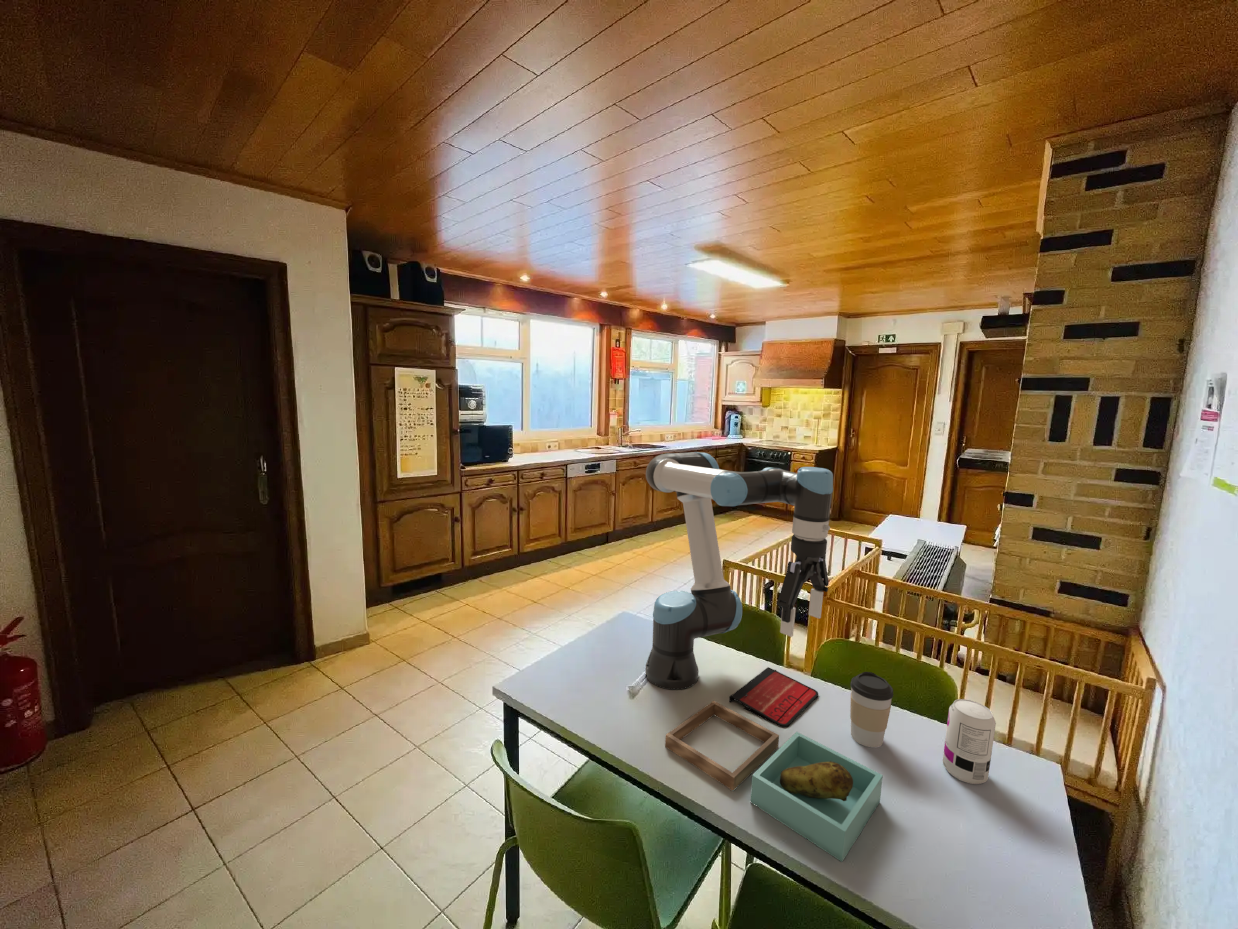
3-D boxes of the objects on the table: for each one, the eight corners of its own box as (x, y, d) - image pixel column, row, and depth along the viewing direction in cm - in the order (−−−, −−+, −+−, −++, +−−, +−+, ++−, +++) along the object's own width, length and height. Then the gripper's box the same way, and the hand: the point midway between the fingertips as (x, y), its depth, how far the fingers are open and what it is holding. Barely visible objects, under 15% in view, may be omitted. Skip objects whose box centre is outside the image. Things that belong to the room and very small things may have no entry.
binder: (729, 695, 134) (767, 665, 149) (728, 703, 135) (766, 673, 150) (786, 725, 124) (821, 690, 139) (785, 734, 124) (820, 698, 139)
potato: (790, 770, 109) (793, 735, 108) (854, 801, 101) (858, 764, 100) (775, 793, 103) (777, 757, 102) (842, 828, 95) (845, 789, 94)
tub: (750, 802, 102) (752, 775, 101) (794, 756, 115) (796, 731, 114) (842, 862, 89) (845, 831, 88) (879, 802, 102) (882, 775, 101)
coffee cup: (893, 754, 116) (900, 693, 114) (850, 747, 118) (856, 687, 116) (881, 728, 125) (887, 671, 123) (842, 723, 127) (847, 666, 125)
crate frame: (665, 746, 117) (665, 734, 116) (713, 711, 130) (713, 700, 130) (733, 791, 104) (733, 777, 104) (778, 747, 118) (779, 735, 117)
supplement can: (933, 764, 113) (941, 702, 111) (958, 755, 117) (966, 694, 114) (971, 791, 106) (980, 724, 104) (996, 780, 109) (1005, 715, 107)
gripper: (798, 552, 104) (789, 649, 107) (849, 530, 121) (840, 614, 124) (765, 543, 109) (758, 636, 112) (818, 523, 126) (810, 604, 129)
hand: (801, 625), depth 118 cm, fingers open, 13 cm apart
